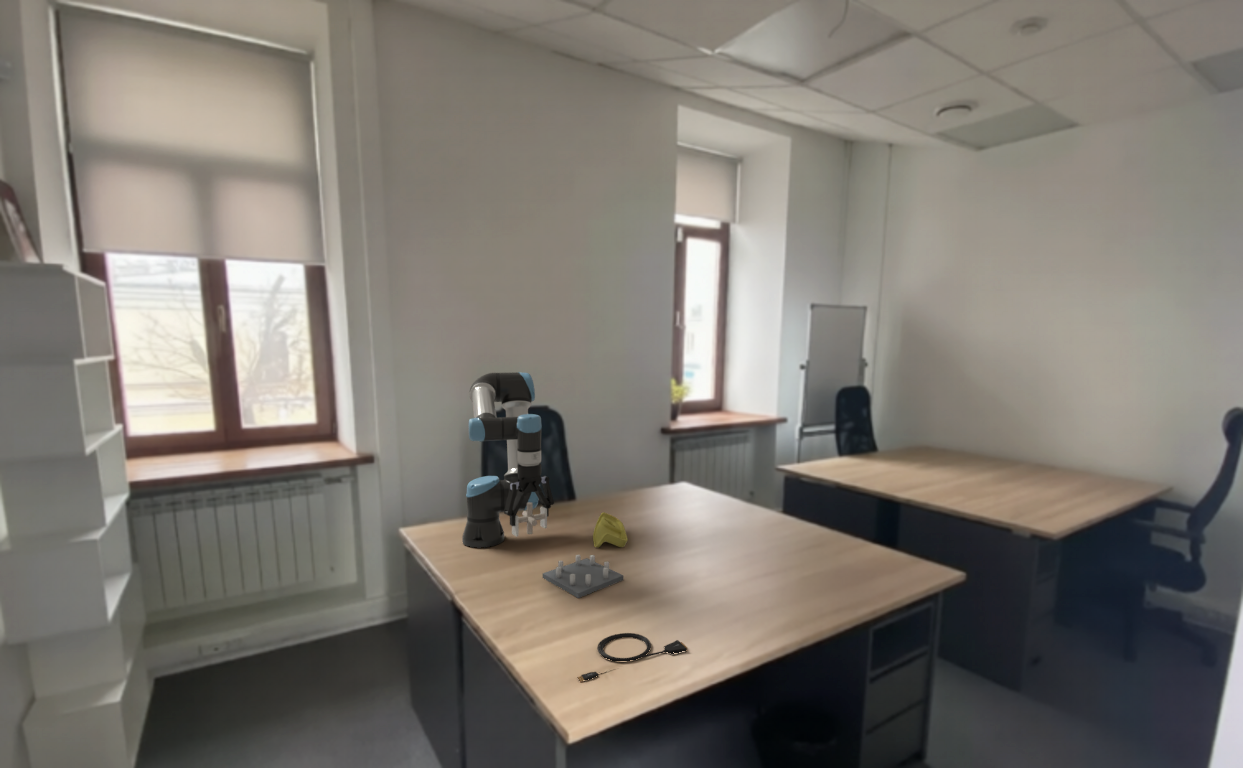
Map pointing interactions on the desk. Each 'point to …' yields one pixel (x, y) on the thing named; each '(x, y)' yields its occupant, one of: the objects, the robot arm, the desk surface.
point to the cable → (669, 648)
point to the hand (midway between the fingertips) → (529, 530)
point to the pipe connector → (530, 518)
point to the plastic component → (609, 531)
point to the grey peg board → (582, 576)
